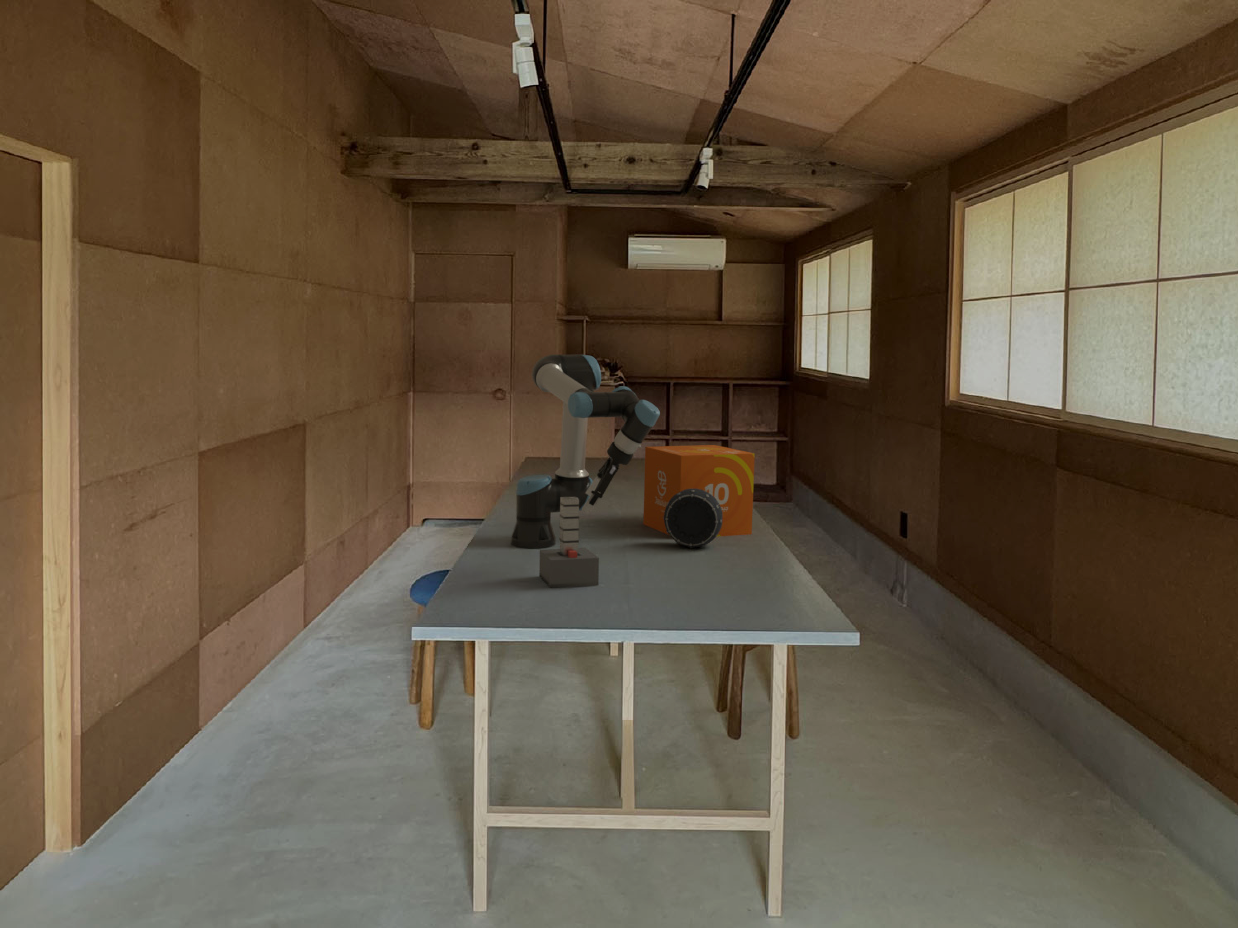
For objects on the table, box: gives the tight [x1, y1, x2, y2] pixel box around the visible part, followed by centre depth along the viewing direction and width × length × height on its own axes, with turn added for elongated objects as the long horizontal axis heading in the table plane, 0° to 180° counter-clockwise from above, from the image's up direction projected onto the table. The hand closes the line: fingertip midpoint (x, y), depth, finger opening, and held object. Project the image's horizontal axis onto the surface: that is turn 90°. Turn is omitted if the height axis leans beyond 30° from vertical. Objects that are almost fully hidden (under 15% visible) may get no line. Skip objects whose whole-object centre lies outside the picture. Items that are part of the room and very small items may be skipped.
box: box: [642, 444, 756, 538], centre depth 363 cm, size 30×30×30 cm
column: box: [558, 497, 580, 556], centre depth 280 cm, size 5×5×23 cm
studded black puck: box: [663, 489, 723, 549], centre depth 332 cm, size 11×20×20 cm, turn 78°
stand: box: [538, 547, 600, 589], centre depth 281 cm, size 14×14×10 cm
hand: (587, 503), depth 296 cm, fingers open, 13 cm apart
